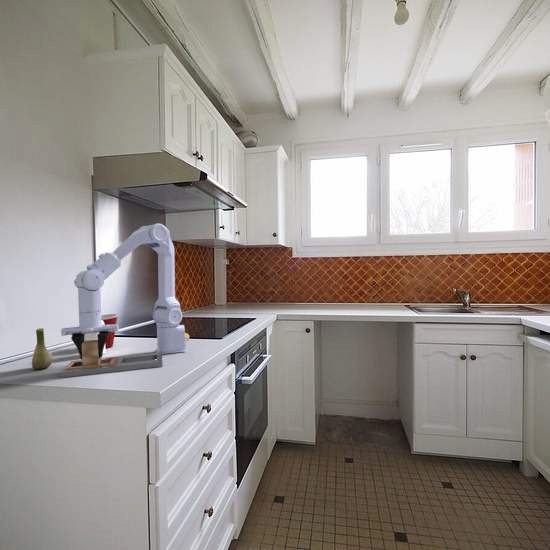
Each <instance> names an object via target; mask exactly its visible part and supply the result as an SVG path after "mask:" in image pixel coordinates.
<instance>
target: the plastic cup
mask: <svg viewBox="0 0 550 550" xmlns="http://www.w3.org/2000/svg"><path fill="white" fill-rule="evenodd" d="M118 317H119V314H118V313H108V314H107V313H106V314H101V319H103V322H104V324H105V325H115V324H117V321H118ZM115 336H116V332H109V335H108V337H107V340H106V342H105V349H110V348H113V347H114V343H115V342H114V341H115Z"/></svg>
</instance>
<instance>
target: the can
mask: <svg viewBox="0 0 550 550" xmlns="http://www.w3.org/2000/svg"><path fill="white" fill-rule="evenodd" d="M101 322H102V325H105V324H104V322H103V319H101ZM94 331H98V330H94ZM83 332H88V331H83ZM98 334H99V333H88V334H85V337H84V341H88V340H98V336H97V335H98ZM106 349H107V348H106ZM106 349H105V345H104V349H103V355H105V353H106V352H107V351H106Z"/></svg>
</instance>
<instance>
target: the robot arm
mask: <svg viewBox="0 0 550 550" xmlns="http://www.w3.org/2000/svg"><path fill="white" fill-rule="evenodd" d="M170 236H171V233H170V230H169V229H168V228H167V227H166V226H165V224H162V223H155V224H150V225H143V226H140V227H139V228H138V229H136V230H135V231H133V232H132V233H131V234H130V236H129V237H127V239H125V240H124V241H122V243H121V244H119V245H118V247H117V248H116V249H115V250H113V252H104V253H100V254H99V255H98V259H96V260H95V261H94V262H93V263H92V264H88V265H87V266H86V267H85V268H86V270H83V271H80V272H79V273H77V274H76V276H75V279H74V280H73V283H74V285H75V286H74V287H76V288H77V292H78V293H77V295H78V296H77V299H78V300H77V302H78V304H77V305H78V324H79V326H71V327H64V328H63V327H62V328H61V329H60V333H61V334H60V335H61V337H63V336H71V339H70V340H71V341H72V342H73V344H74V345H75V347H76V349H77V351H78V354H79V357H80V360H82V343H83V342H84V337H85V334H88V333H99V334H98V335H97V336H98V345H99V352H98V355H99V358H103V356H104V354H103V349H104V345H105V342H106V340H107V337H108V335H109V332H115V333H117V332H119V323H118V324H117V323H116V324H115V325H102V322H101V315H102V302H101V301H102V300H101V299H102V298H101V296H102V295H101V288H102V287H104V283H105V280H107V279H108V278H109V277H110V276H111V275H112V274H113V273H114V272H115V271H117V270H118V269H119V268H120V267H121V262H122V260H123V259H124V258H126V257H127V256H128V255H129V254H131V252H133V251H134V250H135V249H137V248H138V247H139V246H141V245H145V246H147V247H149V248H150V249H152V250H153V251H155V252H156V253H157V269H158V270H157V271H158V273H157V275H158V277H157V278H158V280H157V281H158V287H157V288H158V298H157V300H156V301H155V303H154V309H153V312H152V320H153V321H154V322H155V323H156V346H157V348H156V352H155V353H159V352H162V355H165V354H177V353H186V346H187V341H185V333H186V332H185V331H186V329H185V325H184V324H180V323H181V322H182V320H183V312H182V309H181V304H180V302H179V300H177V298H176V286H175V285H176V277H175V276H176V273H175V270H176V269H175V268H176V267H175V264H176V263H175V261H176V260H175V246H174V243H173V241H172V239H171V237H170ZM94 330H98V331H94ZM83 331H88V332H83Z"/></svg>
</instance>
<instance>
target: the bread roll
mask: <svg viewBox="0 0 550 550" xmlns="http://www.w3.org/2000/svg"><path fill="white" fill-rule="evenodd" d="M186 340H187V341H189V340H190V335H189V334H188V332H187V333H186V332H185V341H186ZM187 341H186V342H187Z"/></svg>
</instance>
